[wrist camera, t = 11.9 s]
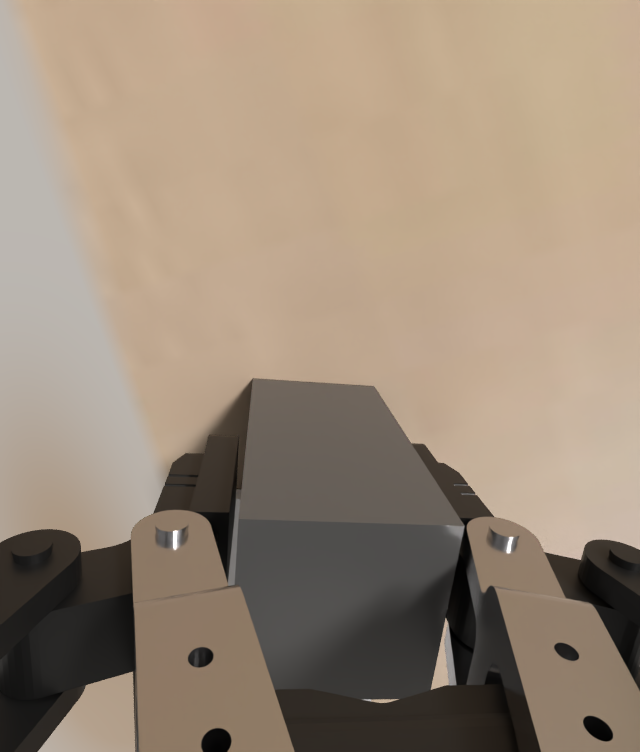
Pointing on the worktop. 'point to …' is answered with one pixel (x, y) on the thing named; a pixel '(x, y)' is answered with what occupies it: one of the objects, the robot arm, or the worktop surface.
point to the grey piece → (341, 543)
